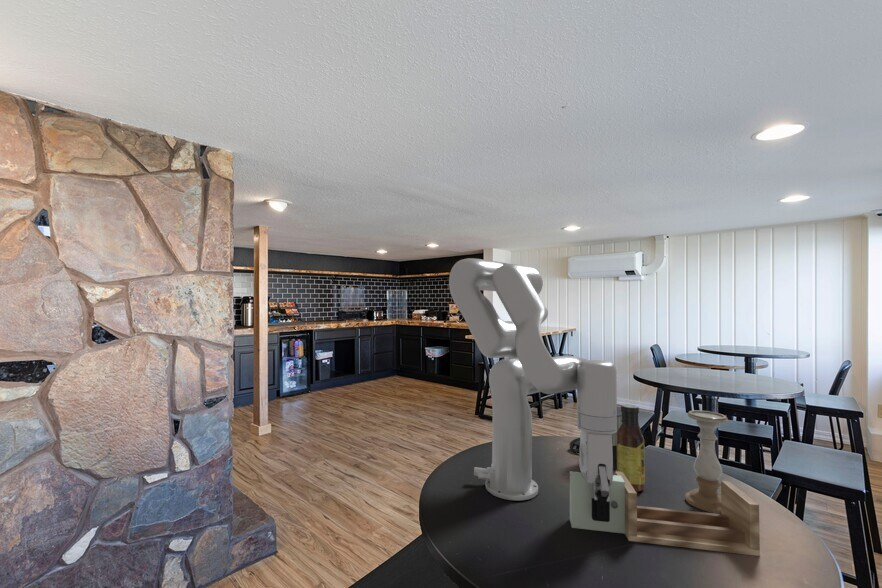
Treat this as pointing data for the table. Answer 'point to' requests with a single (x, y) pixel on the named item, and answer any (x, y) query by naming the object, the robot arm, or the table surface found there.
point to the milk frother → (576, 442)
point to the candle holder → (707, 463)
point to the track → (696, 523)
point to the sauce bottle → (631, 448)
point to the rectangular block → (583, 504)
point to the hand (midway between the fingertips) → (596, 510)
